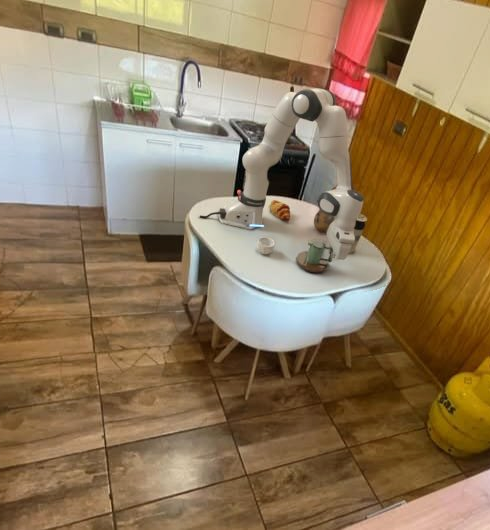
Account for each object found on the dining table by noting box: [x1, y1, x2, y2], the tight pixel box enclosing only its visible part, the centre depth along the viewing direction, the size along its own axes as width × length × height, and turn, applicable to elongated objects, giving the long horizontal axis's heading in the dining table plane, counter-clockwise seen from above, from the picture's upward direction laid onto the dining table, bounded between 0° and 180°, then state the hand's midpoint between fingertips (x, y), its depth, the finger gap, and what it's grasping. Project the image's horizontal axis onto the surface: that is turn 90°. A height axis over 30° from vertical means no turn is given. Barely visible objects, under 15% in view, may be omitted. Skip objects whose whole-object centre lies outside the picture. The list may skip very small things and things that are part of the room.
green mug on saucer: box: [295, 239, 333, 273], centre depth 165 cm, size 15×14×10 cm
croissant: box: [269, 199, 291, 222], centre depth 202 cm, size 21×10×8 cm, turn 19°
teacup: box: [256, 236, 276, 255], centre depth 170 cm, size 10×8×5 cm
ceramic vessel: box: [313, 186, 337, 233], centre depth 190 cm, size 16×9×25 cm, turn 104°
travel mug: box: [348, 213, 368, 254], centre depth 181 cm, size 8×8×18 cm
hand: (331, 255), depth 165 cm, fingers closed on green mug on saucer, 2 cm apart
